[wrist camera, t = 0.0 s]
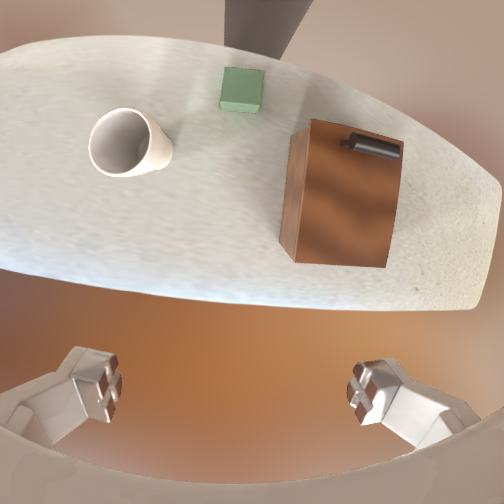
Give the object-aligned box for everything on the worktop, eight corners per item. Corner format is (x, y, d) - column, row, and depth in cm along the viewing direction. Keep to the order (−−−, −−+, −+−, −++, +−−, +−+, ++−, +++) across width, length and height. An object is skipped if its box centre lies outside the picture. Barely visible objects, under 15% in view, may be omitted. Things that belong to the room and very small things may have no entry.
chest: (290, 136, 37) (308, 127, 29) (368, 151, 39) (399, 148, 30) (278, 242, 41) (292, 260, 33) (355, 248, 43) (382, 266, 35)
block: (224, 78, 34) (224, 66, 29) (259, 82, 35) (264, 70, 30) (220, 110, 36) (220, 101, 31) (256, 113, 36) (260, 105, 31)
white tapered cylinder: (131, 134, 35) (84, 117, 21) (176, 124, 35) (149, 97, 21) (137, 179, 37) (92, 184, 23) (182, 170, 37) (158, 168, 23)
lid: (309, 119, 29) (325, 110, 24) (400, 142, 30) (425, 139, 25) (292, 260, 33) (304, 276, 28) (382, 266, 34) (404, 280, 29)
